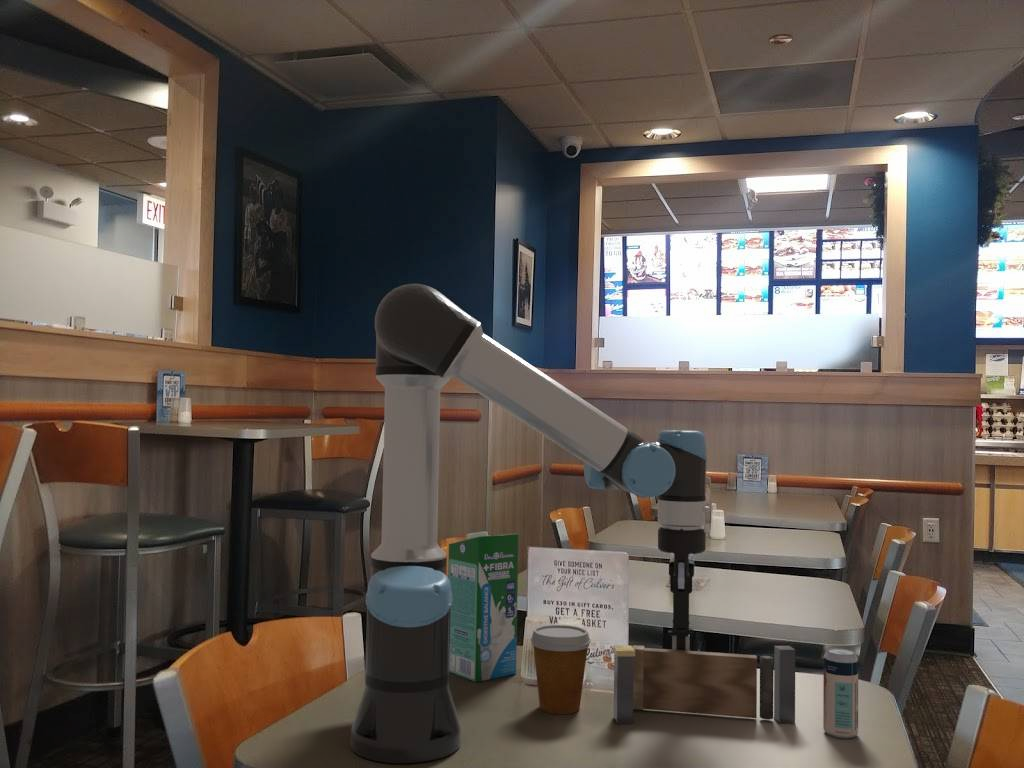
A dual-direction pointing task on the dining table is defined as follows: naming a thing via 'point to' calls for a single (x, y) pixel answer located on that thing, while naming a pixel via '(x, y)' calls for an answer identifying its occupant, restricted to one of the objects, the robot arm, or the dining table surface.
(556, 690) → the disposable coffee cup
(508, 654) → the milk carton
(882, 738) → the dining table surface
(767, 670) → the garden gate
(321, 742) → the dining table surface
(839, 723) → the supplement bottle
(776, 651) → the hinge post
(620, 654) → the post
